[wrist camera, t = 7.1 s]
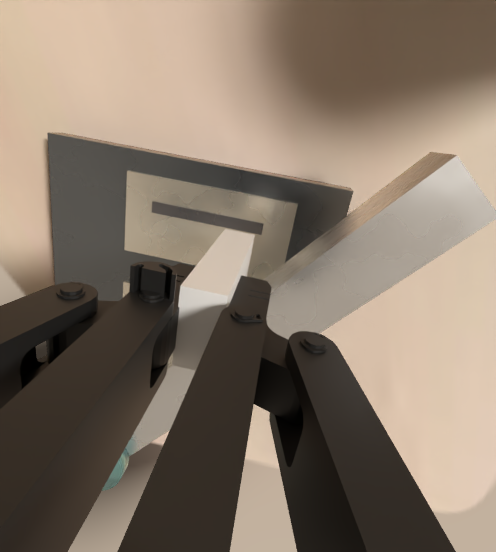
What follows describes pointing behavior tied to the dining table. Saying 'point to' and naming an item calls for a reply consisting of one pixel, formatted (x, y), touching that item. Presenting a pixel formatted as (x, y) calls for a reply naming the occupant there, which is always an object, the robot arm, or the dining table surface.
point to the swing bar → (349, 267)
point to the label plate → (172, 211)
